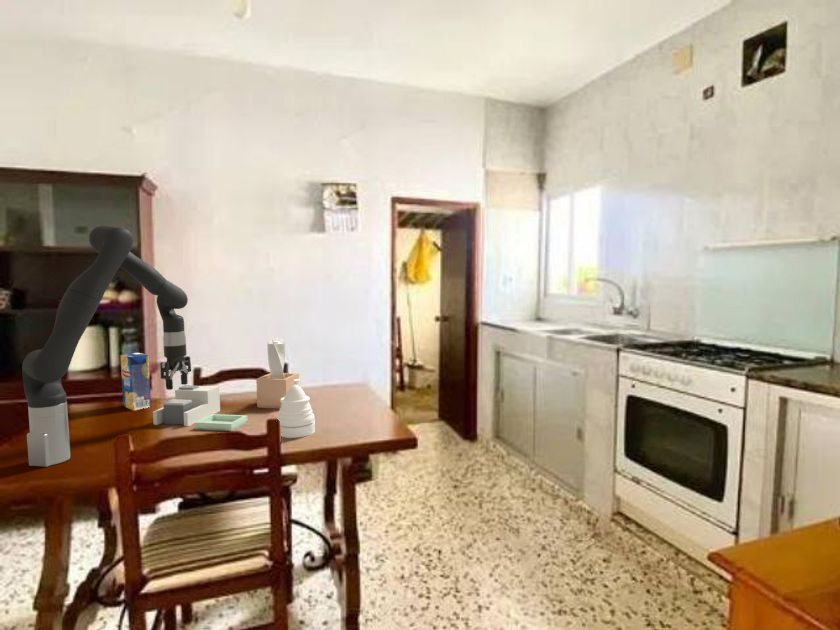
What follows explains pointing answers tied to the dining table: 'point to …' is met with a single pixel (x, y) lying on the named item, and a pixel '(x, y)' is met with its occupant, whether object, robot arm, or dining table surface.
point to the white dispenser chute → (194, 403)
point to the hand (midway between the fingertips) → (177, 386)
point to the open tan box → (273, 390)
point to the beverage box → (135, 381)
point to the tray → (221, 422)
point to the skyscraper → (276, 358)
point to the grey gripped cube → (176, 410)
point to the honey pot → (296, 413)
